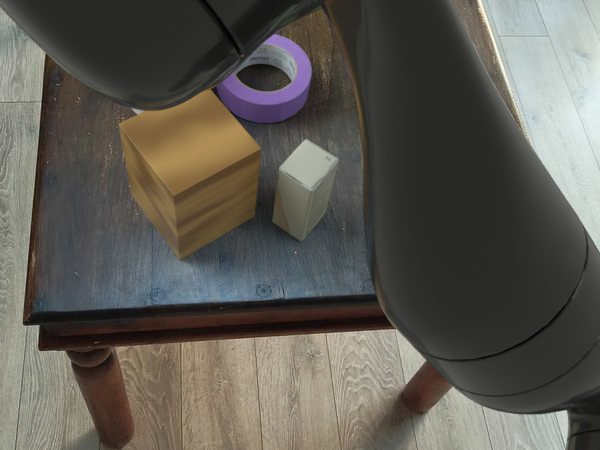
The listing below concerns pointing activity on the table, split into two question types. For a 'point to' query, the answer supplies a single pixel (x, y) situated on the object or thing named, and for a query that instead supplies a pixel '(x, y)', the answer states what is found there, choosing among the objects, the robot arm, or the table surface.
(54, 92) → the table surface
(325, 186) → the box
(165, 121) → the stand
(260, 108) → the tape roll
